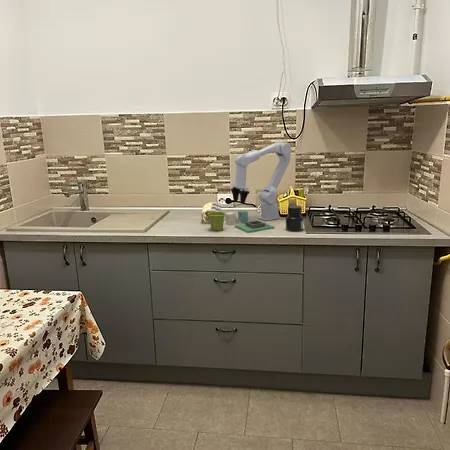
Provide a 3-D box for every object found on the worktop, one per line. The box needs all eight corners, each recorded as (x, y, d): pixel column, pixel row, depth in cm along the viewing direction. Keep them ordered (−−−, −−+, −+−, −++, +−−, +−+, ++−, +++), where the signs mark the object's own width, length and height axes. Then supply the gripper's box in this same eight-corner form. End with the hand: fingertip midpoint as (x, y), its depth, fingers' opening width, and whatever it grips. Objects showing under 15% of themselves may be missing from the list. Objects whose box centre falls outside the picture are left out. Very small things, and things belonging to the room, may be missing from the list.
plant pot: (229, 229, 224) (229, 213, 222) (216, 232, 218) (215, 216, 216) (218, 226, 231) (217, 210, 229) (204, 229, 225) (203, 213, 223)
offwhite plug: (230, 222, 239) (230, 212, 238) (235, 223, 236) (235, 213, 235) (224, 224, 236) (224, 213, 235) (229, 225, 233) (229, 214, 232)
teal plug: (244, 220, 242) (244, 210, 241) (248, 222, 239) (247, 211, 238) (237, 221, 240) (237, 211, 239) (241, 223, 237) (240, 212, 236)
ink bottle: (306, 231, 217) (307, 207, 214) (290, 232, 214) (290, 209, 211) (298, 226, 226) (298, 204, 223) (282, 228, 223) (282, 205, 220)
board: (259, 223, 236) (259, 217, 235) (274, 228, 224) (274, 222, 223) (234, 227, 228) (234, 221, 228) (248, 232, 216) (248, 227, 216)
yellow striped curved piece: (220, 224, 237) (219, 201, 234) (201, 224, 238) (200, 201, 234) (221, 214, 262) (220, 193, 258) (204, 214, 262) (203, 193, 259)
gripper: (228, 176, 237) (226, 200, 240) (241, 179, 225) (239, 204, 228) (239, 176, 241) (237, 200, 244) (252, 179, 228) (250, 204, 231)
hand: (239, 202), depth 236 cm, fingers open, 7 cm apart
